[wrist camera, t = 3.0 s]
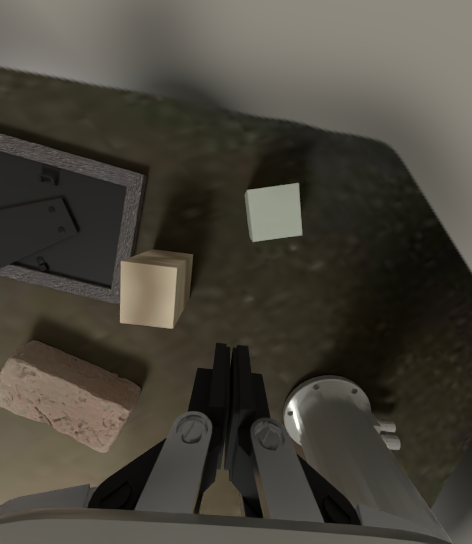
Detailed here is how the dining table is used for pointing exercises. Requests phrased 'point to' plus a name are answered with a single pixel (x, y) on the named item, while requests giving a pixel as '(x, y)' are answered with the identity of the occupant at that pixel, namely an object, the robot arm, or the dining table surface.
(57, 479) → the dining table surface
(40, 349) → the brick
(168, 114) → the dining table surface
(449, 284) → the dining table surface
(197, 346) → the dining table surface
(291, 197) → the sage block
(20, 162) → the picture frame
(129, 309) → the maple block
